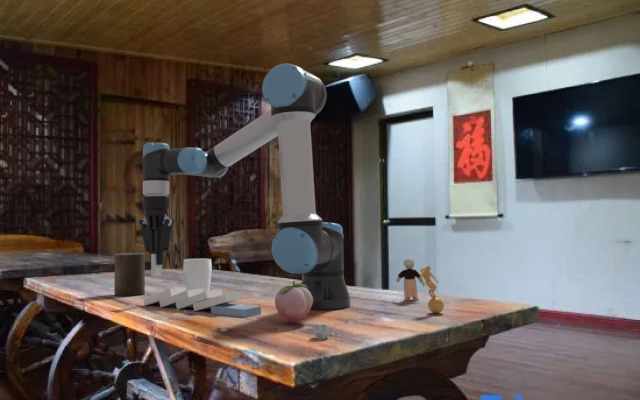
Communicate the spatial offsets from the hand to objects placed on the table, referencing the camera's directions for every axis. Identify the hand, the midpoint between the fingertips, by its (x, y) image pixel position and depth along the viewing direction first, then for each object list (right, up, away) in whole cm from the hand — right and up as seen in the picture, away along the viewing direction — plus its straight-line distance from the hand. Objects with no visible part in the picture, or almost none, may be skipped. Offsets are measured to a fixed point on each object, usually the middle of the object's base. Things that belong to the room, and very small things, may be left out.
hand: (156, 276), depth 168 cm
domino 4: (+15, -7, -11) cm, 20 cm away
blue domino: (+21, -7, -15) cm, 26 cm away
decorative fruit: (+42, -7, -34) cm, 54 cm away
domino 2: (+4, -7, -3) cm, 9 cm away
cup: (+9, -9, +16) cm, 20 cm away
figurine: (+77, -7, -21) cm, 80 cm away
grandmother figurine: (+75, -8, +2) cm, 75 cm away
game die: (+48, -6, -50) cm, 70 cm away
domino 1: (-2, -8, +1) cm, 8 cm away
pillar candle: (-16, -10, +24) cm, 30 cm away
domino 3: (+10, -7, -7) cm, 14 cm away
